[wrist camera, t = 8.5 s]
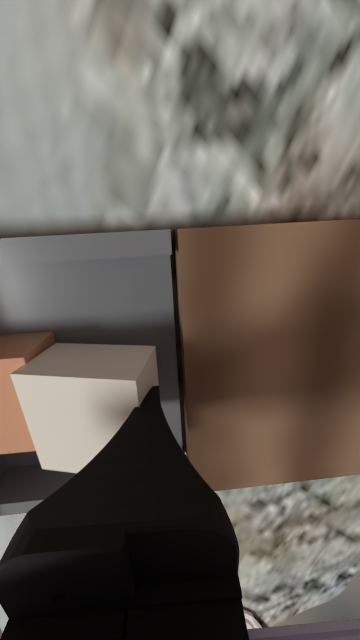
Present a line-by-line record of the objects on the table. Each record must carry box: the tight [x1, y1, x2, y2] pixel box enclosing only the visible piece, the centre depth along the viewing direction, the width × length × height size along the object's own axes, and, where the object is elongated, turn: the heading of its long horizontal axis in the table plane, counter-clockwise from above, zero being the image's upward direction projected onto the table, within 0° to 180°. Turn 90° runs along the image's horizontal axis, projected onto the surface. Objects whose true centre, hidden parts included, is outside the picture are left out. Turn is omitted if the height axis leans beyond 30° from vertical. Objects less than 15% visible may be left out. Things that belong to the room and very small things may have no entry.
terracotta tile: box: [0, 331, 56, 454], centre depth 12 cm, size 6×6×3 cm
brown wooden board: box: [174, 219, 360, 491], centre depth 14 cm, size 16×16×3 cm
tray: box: [0, 229, 183, 516], centre depth 13 cm, size 13×16×4 cm
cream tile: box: [10, 343, 159, 473], centre depth 12 cm, size 6×6×3 cm
